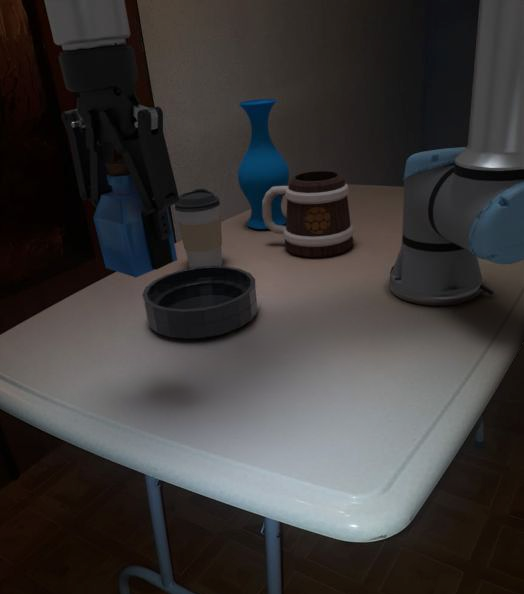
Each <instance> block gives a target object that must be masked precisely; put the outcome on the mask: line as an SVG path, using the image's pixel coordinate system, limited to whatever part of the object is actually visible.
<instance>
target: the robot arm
mask: <svg viewBox="0 0 524 594" xmlns="http://www.w3.org/2000/svg"><path fill="white" fill-rule="evenodd" d="M43 2H44V5H45V9H46V14H47V18H48V22H49V26H50V31H51V35H52V39H53V43H54V44H55V45H57V46H61V48H62V52H61V51H60V52H59V56H58V57H57V58H58V61H59V66H60V69H61V73H62V78H63V82H64V85H65V88H66V90H67V91H68V92H70V93H75V94H76V95H75V96H76V108H75V109H70V110H66V111H62V112H61V114H60V116H61V121H62V123H63V125H64V128H65V130H66V132H67V136H68V141H69V146H70V151H71V155H72V162H73V166H74V172H75V176H76V182H77V187H78V191H79V196H80V198H81V200H82V201H87V200H88V201H89V202H90V203H91V204H92V206H93V207H95V210H96V209H97V206H98V204H99V201H100V198H101V195H103V194H106V193H110V192H113V190H112V186H111V185H109V184H108V180H107V175H108V174H109V171H108V169H107V167H106V165H105V164H106V163H108V162H111V161H115V151H116V152H117V154H120V155H121V156H122V158H123V159H124V161H125V163H126V165H127V168H128V170H129V172H130V175H131V177H132V179H133V181H134V184H135V186H136V188H137V191H138V193H139V195H140V198H141V200H142V202H143V204H144V207H145V209H146V210H144V211H141V213H142V214H141V216H142V221H143V226H144V231H145V236H146V240H147V245H148V250H149V255H150V260H151V265H152V269H155V270H157V271H158V270H160V269H162V268H163V267H165V266H167V265H169V263H170V264H172V263H174V262H173V259H172V254H171V248H170V243H169V237H170V228H169V222H168V216H167V209H168V208H169V207H171V206H173V205H175V204H176V203H178V202H179V196H180V195H179V192H178V188H177V183H176V180H175V175H174V171H173V167H172V162H171V159H170V154H169V149H168V145H167V141H166V137H165V134H164V112H163V109H162V108H161V107H160V106H152V107H147V106H144V105H143V104H141V101H140V99H139V97H138V96H137V93H136V90H135V87H136V85H137V84H138V83H139V81H140V76H139V75H140V74H139V71H138V70H139V69H138V66H137V59H136V54H135V49H134V47H132V45H131V44H127V42H126V41H127V40H126V39H129V38H130V37H131V35H132V34H131V29H130V23H129V18H128V13H127V8H126V7H127V6H126V2H125V0H44V1H43ZM477 18H478V19H477V29H476V41H475V54H474V65H473V78H472V79H473V80H472V90H471V101H470V102H471V103H470V115H469V127H468V136H467V137H468V139H467V145H466V146H461V147H450V148H449V147H447V148H440V149H433V150H426V151H420V152H416V153H413V154H412V155H410V156H409V157H408V158H407V159H406V161H405V168H404V175H403V179H402V180H403V203H402V204H403V206H402V230H401V231H402V232H401V233H402V235H401V247H400V249H399V251H398V254H397V257H396V260H395V262H394V265H392V267H391V269H390V272H389V290H390V292H391V293H392V294H393V295H394V296H396V297H397V298H399V299H400V300H403V301H406V302H409V303H413V304H417V305H423V306H433V307H434V306H437V307H439V306H454V305H460V304H464V303H467V302H470V301H473V300H474V299H476V298H477V297H479V295H480V294H481V292H482V291H483V292H486V293H487V294H489V295H490V296H493V294H494V293H495V291H494V290H492V289H490V288H489V287H487V286H485V285H484V284H483V276H482V272H481V267H480V263H479V259H481V260H486V261H488V262H490V263H493V264H497V265H512V264H516V263H519V262H522V261H524V0H479V6H478V17H477ZM89 186H90V187H89ZM153 197H154V198H155V200H153ZM171 262H172V263H171Z"/></svg>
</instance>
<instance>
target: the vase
mask: <svg viewBox="0 0 524 594" xmlns="http://www.w3.org/2000/svg"><path fill="white" fill-rule="evenodd" d="M277 100H278V99H274V98H261V99H253V100H251V99H250V100H246V101H241V102H239V103H238V105H239V106H240V107H241V108H242V110H244V112H245V113H246V115H247V116H248V119H249V122H250V129H251V134H250V135H251V136H250V137H251V138H250V141H249V142H250V143H249V145H248V148H247V149H246V152H245V154H244V156H243V157H242V159H241V161H240V163H239V166H238V170H237V181H238V185H239V188H240V190H241V192H242V193H243V195H244V197H245V198H246V200H247V202H248V203H249V206H250V216H249V219H248V220H247V223H246V224H247V226H248V227H249V228H251V229H253V230H270V229H269V228H268V227H266V225H265V222H264V219H263V212H262V201H263V199H264V197H265V194H266V192H267V191H268V190H270V189H271V188H272V187H275V186H288V184H289V181H290V170H289V166H288V163H287V161H286V159H285V158H284V157H283V156H282V154H281V153H280V151H279V150H278V149H277V147H276V146H275V144H274V142H273V141H272V138H271V136H270V132H269V116H270V114H271V111H272V109H273V107H274V106H275V104H276V102H278V101H277ZM283 198H284V195H277V196H276V197H275V198H274V199H273V201H272V203H271V209H272V219H273V222H274V223H275V224H276V225H281V226H285V225H286V215H284V213H283V210H282V202H283Z"/></svg>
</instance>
